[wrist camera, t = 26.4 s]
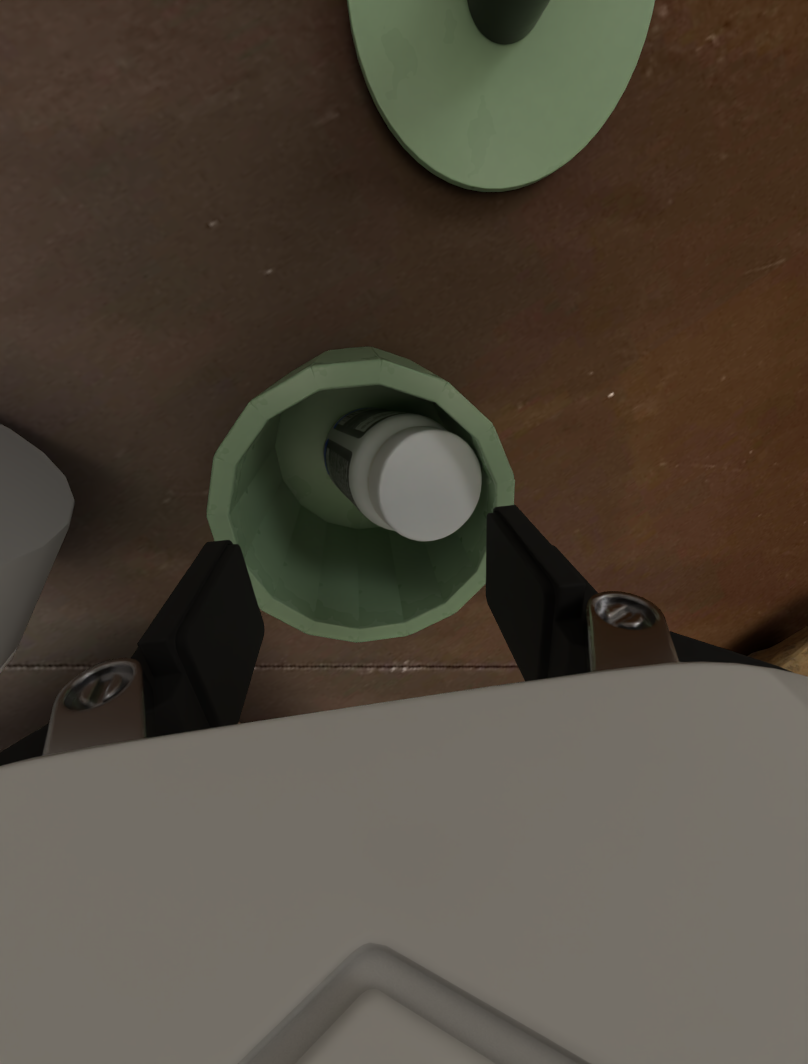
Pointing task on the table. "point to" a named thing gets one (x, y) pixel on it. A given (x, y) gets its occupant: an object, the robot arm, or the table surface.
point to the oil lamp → (788, 653)
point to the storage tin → (346, 503)
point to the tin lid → (497, 80)
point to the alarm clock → (27, 532)
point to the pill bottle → (404, 471)
